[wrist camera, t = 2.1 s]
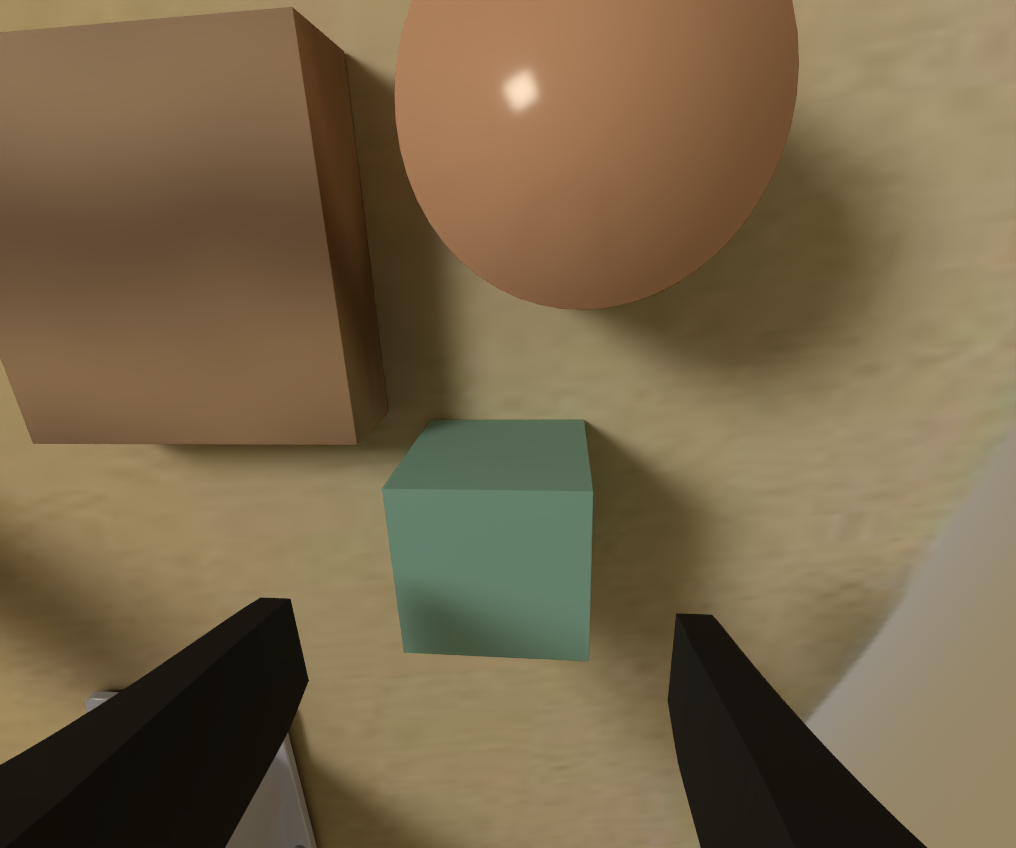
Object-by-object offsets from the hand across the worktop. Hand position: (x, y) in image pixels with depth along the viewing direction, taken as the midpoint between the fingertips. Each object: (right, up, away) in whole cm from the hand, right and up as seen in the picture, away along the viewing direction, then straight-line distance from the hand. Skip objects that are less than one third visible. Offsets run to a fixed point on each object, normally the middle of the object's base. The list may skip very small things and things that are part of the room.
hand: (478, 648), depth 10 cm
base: (-8, +9, +5) cm, 12 cm away
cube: (+1, +2, +6) cm, 7 cm away
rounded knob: (+2, +11, +3) cm, 11 cm away
